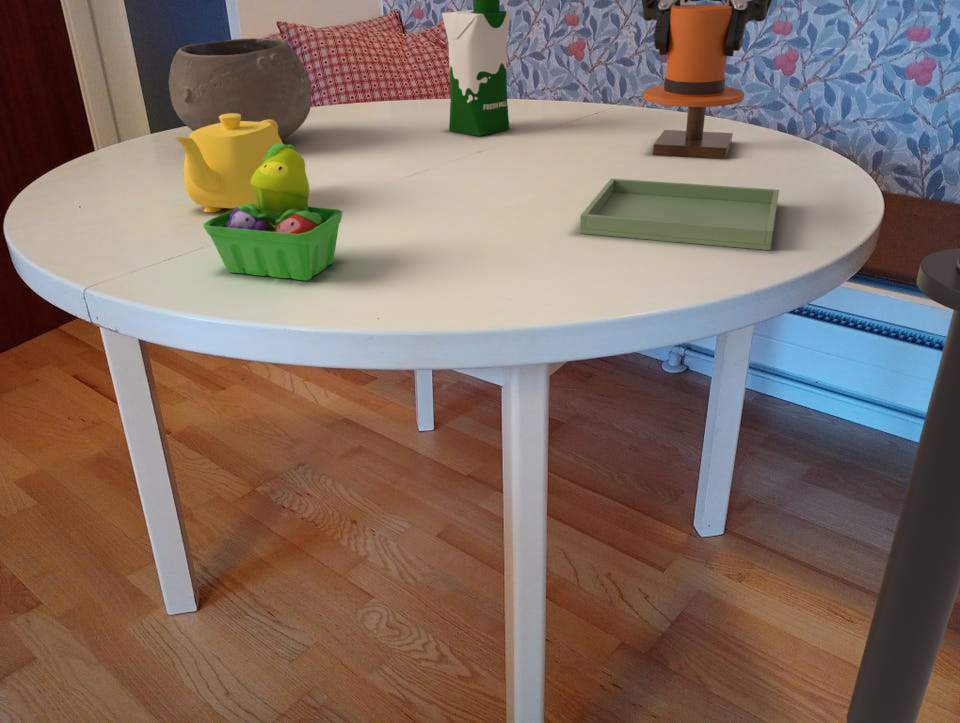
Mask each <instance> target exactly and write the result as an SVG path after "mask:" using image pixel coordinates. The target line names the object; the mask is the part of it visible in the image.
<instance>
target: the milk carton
mask: <svg viewBox="0 0 960 723" xmlns="http://www.w3.org/2000/svg"><path fill="white" fill-rule="evenodd" d="M441 16H442V20H443V25H444V29H445V33H446V37H447V43H448V44H447V45H448V64H449V66H448V67H449V89H450V90H449V92H450V105H449V107H450V108H449V125H448V126H449V127H448V129H449V130H448V131H449V132H454V133H459V134H464V135H470V136H475V137H484V136H487V135H491V134H496V133H499V132H503V131H508V130H510V121H509V120H510V118H509V106H508V104H509V103H508V68H507V67H508V63H507V62H508V60H507V59H508V57H507V56H508V55H507V54H508V52H507V50H508V48H507V47H508V45H507V42H508V35H509V34H508V33H509V28H510V22H511V16H512V11H511V10H503V9H502V10H501V9H500V0H472V9H467V10H460V11H451V12H450V11H449V12H442V13H441Z"/></svg>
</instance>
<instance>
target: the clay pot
mask: <svg viewBox="0 0 960 723" xmlns="http://www.w3.org/2000/svg"><path fill="white" fill-rule="evenodd" d="M307 74H308V73H307V71H306V69H305V66H304V64H303V62H302V61H301V58H300V56H298V54H297V52H296V51H295V49H294V48H293V47H292V46H291V45H290V44H289V43H288V42H287V41H285V39H281V38H234V39H227V40H219V41H211V42H202V43H193V44H188V45H184V46H183V47H179V48H178V50H177V51H176V52H175V55H174V56H173V58H172V61H171V64H170V70H169V77H168V91H169V96H170V101H171V105H172V108H173V109H174V112H175V113H176V115H177V116H178V118H179V119H180V120H181V121H182V122H183V124H185V126H186V127H187V128H188V129H189V130H191V131H192V132H193V131H195V130H197V129H200V128H203V127H206V126H209V125H213V124H217V123H221V121H220V119H219V116H220V115H223V114H229V113H237V114H240V115H241V120H240V121H253V122H261V121H263V120H268V119H271V120H274V121H276V123H277V125H278V135H279V137H280V139H281V140H282V141H283V140H284V139H286V138H288V137H289V136H291V135H292V134H294V133H295V132H296V131H298V130H299V128H300V127H302V125H303V124H304V123H305V121H306V120H307V118H308V116H309V114H310V111H311V108H312V107H311V106H312V87H311V83H310V79H309V77H308V75H307Z"/></svg>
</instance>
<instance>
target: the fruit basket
mask: <svg viewBox="0 0 960 723" xmlns="http://www.w3.org/2000/svg"><path fill="white" fill-rule="evenodd" d="M295 149H296V146H295V145H293V144H286V143H283V144H281V143H279V144H275V145H273V146H272V147H271V148H270V149H269V151H268V153H267V155H266V157H265V159H263V162H264V163H263V164H262V165H261V166H260V167H259V168H258V169H257V170H256V171H255V173H254V174H253V176H252V179H251V182H250V183H251V185H252V188H253V190H254V193H255V195H256V198H257V200H258V203H256V204H245V205H242V206H237V207H236V208H232V209H230V210H228V211H226V212H225V213H222V214H219V215H217V216H215V217H213V218H211V219H210V218H209V220H207V221H205V222H204V223H203V224H202V227H203V229H204V230H205V232H206V233H207V234H208V236H210V238H211V240H212V242H213V245H214V246H215V248H216V250H217V252H218V255H219V257H220V259H221V260H222V263H223V265H224V267H225V269H226V270H227V272H228V273H232V274H247V275H252V276H260V277H261V276H263V277H267V276H268V277H272V278H278V279H279V278H280V279H293V280H298V281H310V280H312V278H313V277H314V276H317V275H319V273H321V272H322V271H324V270H325V269H326V268H327V267H328V266H330V265H332V264H333V263H334V262H335V261H334V259H335V253H336V246H337V240H338V233H339V226H340V224H341V222H342V217H343V210H340V209H338V208H337V209H336V208H325V207H315V206H309V197H310V185H309V179H308V177H307V173H306V162H305V159H304V158H303V156H302V155H301V154H300V153H299V152H298V151H296V150H295Z"/></svg>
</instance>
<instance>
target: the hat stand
mask: <svg viewBox="0 0 960 723" xmlns="http://www.w3.org/2000/svg"><path fill="white" fill-rule="evenodd" d="M706 108H707V107H687V116H686V125H685V126H686V128H685V130H679V129H678V130H676V129H664V130H663V131H662V132H661V133H660V135H659V137H658V138H657V139H656V140H655V141H654V143H653V146H652V155H653V156H669V157H684V158H685V157H687V158H688V157H689V158H704V159H721V160H726V158H727V155H728V153H729V150H730V148H731V145H732V142H733V132H720V131H719V132H717V131H704V126H705V117H706Z"/></svg>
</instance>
